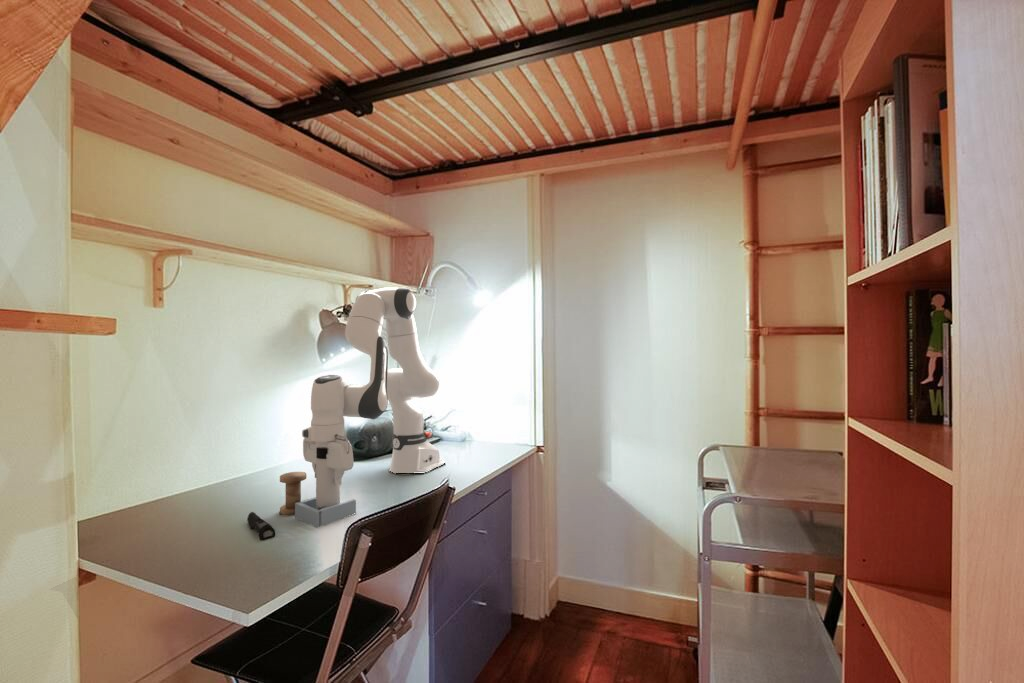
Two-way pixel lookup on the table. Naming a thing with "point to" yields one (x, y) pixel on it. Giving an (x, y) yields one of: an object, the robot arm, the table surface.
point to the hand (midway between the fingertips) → (327, 481)
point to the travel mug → (325, 482)
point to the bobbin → (292, 491)
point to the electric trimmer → (260, 526)
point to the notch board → (323, 512)
